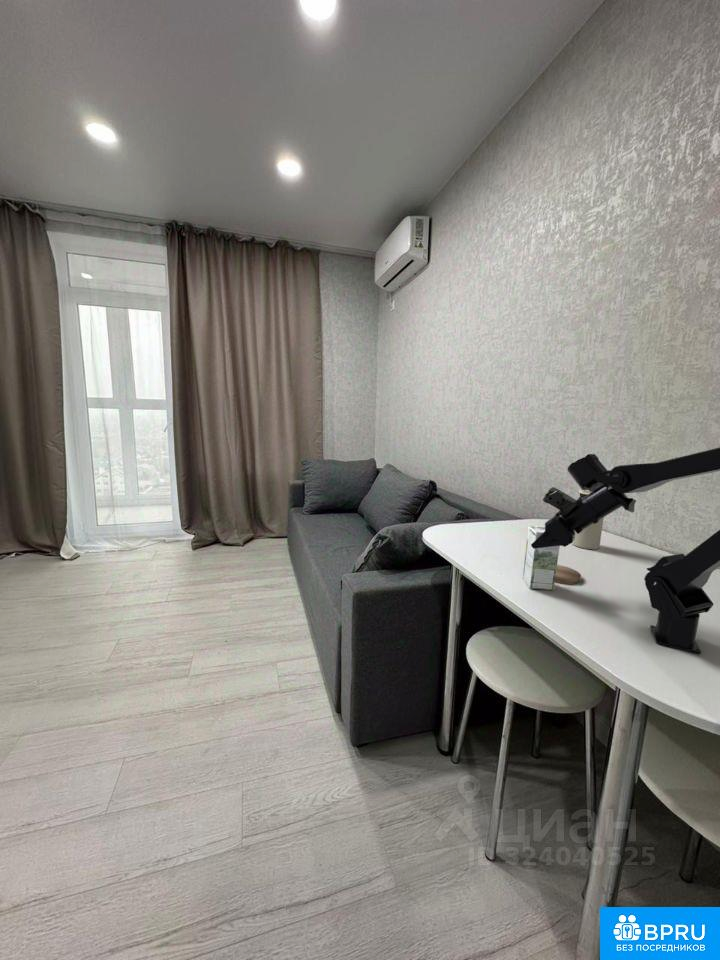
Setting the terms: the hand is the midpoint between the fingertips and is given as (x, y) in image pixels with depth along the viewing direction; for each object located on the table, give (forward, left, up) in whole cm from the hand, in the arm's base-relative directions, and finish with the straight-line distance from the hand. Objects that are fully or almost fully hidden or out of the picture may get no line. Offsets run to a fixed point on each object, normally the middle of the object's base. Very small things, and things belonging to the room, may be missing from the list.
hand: (536, 542), depth 93 cm
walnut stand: (+9, -6, -11) cm, 15 cm away
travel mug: (+42, -13, -11) cm, 45 cm away
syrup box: (0, -1, -11) cm, 11 cm away
